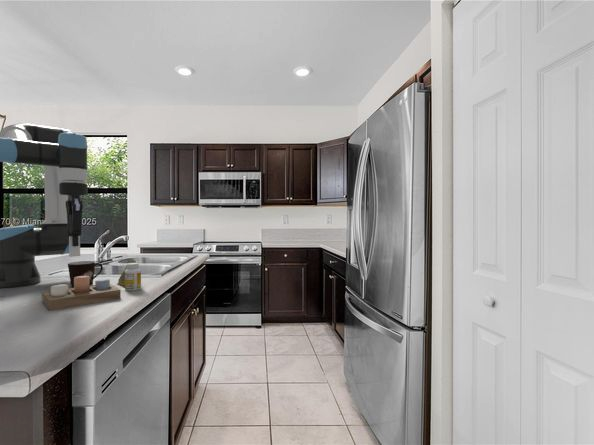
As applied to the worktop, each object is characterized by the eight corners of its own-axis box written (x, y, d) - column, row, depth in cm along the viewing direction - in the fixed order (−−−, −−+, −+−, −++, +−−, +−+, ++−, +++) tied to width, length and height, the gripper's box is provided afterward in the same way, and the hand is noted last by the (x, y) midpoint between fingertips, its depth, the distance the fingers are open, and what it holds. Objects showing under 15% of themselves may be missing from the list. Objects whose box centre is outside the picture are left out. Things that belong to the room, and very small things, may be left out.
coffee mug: (69, 293, 114) (69, 265, 114) (66, 289, 121) (66, 262, 121) (107, 288, 122) (106, 262, 122) (102, 284, 129) (102, 259, 128)
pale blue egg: (94, 294, 110) (93, 280, 110) (107, 292, 113) (107, 278, 113) (97, 297, 107) (97, 282, 107) (111, 294, 110) (111, 280, 110)
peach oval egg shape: (72, 292, 106) (72, 277, 106) (87, 290, 109) (87, 275, 109) (75, 294, 103) (75, 278, 103) (91, 292, 106) (90, 277, 106)
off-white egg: (50, 301, 102) (49, 285, 102) (66, 299, 105) (66, 283, 105) (52, 304, 99) (52, 287, 99) (69, 301, 102) (68, 285, 102)
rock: (147, 280, 125) (147, 273, 134) (132, 264, 122) (133, 257, 131) (122, 299, 123) (123, 290, 131) (106, 283, 119) (108, 274, 128)
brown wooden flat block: (42, 301, 104) (42, 291, 104) (108, 291, 118) (108, 283, 118) (49, 310, 94) (49, 300, 94) (120, 298, 108) (120, 289, 108)
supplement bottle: (138, 287, 125) (137, 262, 124) (143, 289, 121) (142, 263, 120) (122, 289, 121) (122, 263, 121) (127, 291, 117) (127, 265, 117)
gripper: (91, 182, 101) (92, 257, 102) (83, 184, 111) (84, 253, 111) (62, 180, 96) (63, 259, 97) (56, 183, 106) (57, 255, 106)
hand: (74, 256), depth 104 cm, fingers closed
